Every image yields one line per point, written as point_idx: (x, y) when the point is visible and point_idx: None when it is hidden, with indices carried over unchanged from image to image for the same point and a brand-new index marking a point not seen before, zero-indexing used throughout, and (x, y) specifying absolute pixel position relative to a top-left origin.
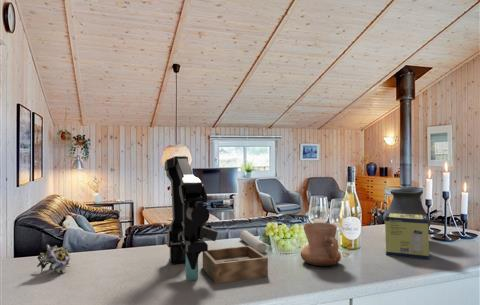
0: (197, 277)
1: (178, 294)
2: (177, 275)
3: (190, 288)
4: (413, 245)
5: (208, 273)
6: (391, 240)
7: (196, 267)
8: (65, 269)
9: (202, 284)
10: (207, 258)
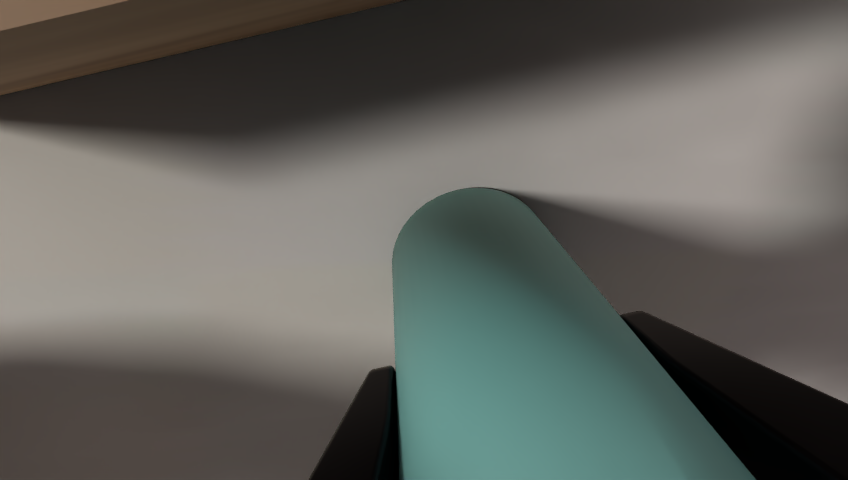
0: (518, 203)
1: (845, 349)
2: (341, 404)
3: (769, 262)
4: None
5: (330, 16)
6: None
7: (604, 298)
8: None
9: (722, 130)
10: (126, 26)
